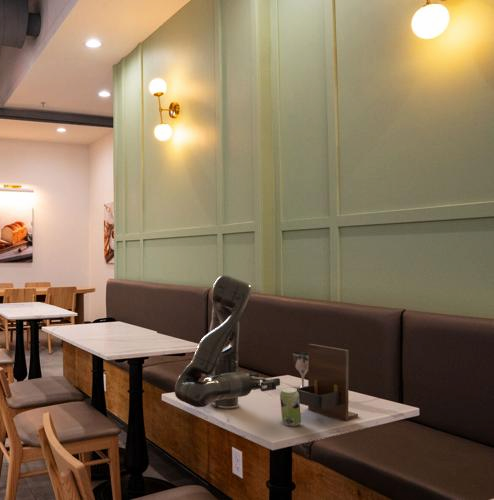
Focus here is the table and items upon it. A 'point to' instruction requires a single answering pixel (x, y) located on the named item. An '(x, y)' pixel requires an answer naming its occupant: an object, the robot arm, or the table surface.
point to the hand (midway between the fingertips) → (268, 379)
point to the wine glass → (301, 364)
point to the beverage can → (290, 406)
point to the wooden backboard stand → (327, 382)
